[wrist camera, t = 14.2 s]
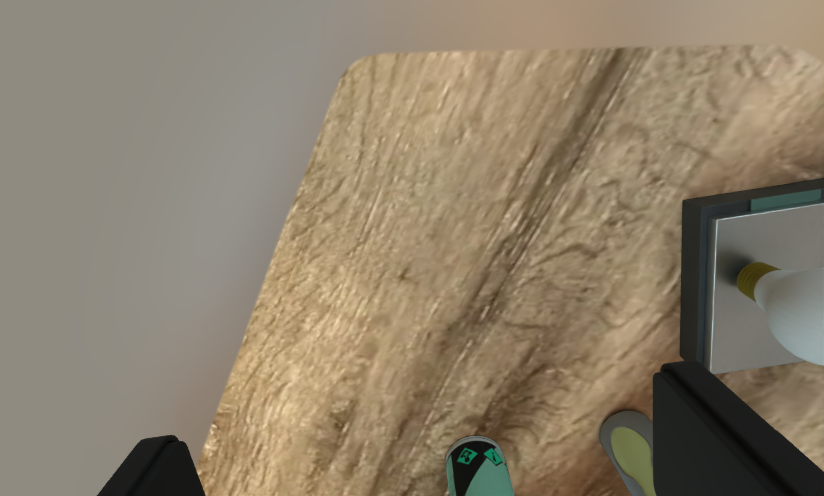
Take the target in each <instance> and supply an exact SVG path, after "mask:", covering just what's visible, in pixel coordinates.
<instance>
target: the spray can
mask: <svg viewBox="0 0 824 496" xmlns="http://www.w3.org/2000/svg"><path fill="white" fill-rule="evenodd" d="M446 470H447V479H448V488H449V496H515V494H514V490H513V487H512V483H511V480H510V476H509V473H508V469H507V465H506V462H505V458H504V455H503V452H502V450H501V448H500V446H499V445H498V444H497V443H496V442H495V441H493V440H492V439H490V438H487V437H484V436H468V437H465V438H462V439H460V440H458V441H457V442H455V443H454V444H453V445H452V446H451V447H450V449H449V451H448V452H447V455H446Z"/></svg>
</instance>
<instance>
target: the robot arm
mask: <svg viewBox="0 0 824 496" xmlns="http://www.w3.org/2000/svg"><path fill="white" fill-rule="evenodd" d="M653 486H654V490H655V493H656V496H824V472H823V471H822V470H821V469H820V468H819V467H818V466H817V465H815V464H814V463H813V462H812V461H811V460H810V459H809V458H808V457H806V456H805V455H804V454H803V453H802V452H801V451H800V450H799V449H797V448H796V447H795V446H794V445H793V444H792V443H791V442H789V441H788V440H787V439H786V438H785V437H784V436H783V435H782V434H780V433H779V432H778V431H776V430H775V429H774V428H773V427H771V426H770V425H769V424H768V423H767V422H766V421H765V420H764V419H763V418H761V417H760V416H759V415H758V414H757V413H756V412H755V411H754V410H752V409H751V408H750V407H749V406H748V405H747V404H746V403H745V402H743V401H742V400H741V399H740V398H739V397H738V396H737V395H736V394H734V393H733V392H732V391H731V390H730V389H729V388H728V387H727V386H725V385H724V384H723V383H722V382H721V381H720V380H719V379H718V378H717V377H715V376H714V375H713V374H712V373H711V372H710V371H709V370H708V369H706V368H705V367H704V366H703V365H702V364H701V363H699V362H698V361H696V360H687V361H680V362H673V363H666V364H663V365H662V367H661V370H660V372H658V373H655V374H654V376H653ZM97 496H205V493H204V490H203V488H202V485H201V482H200V479H199V477H198V474H197V471H196V469H195V466H194V463H193V460H192V458H191V455H190V452H189V450H188V447H187V445H186V443H184V442H183V441H179V440H178V438H177V437H176V436H173V435H167V436H160V437H153V438H146V439H143V440H141V441H140V442H139V443H138V444H137V445H136V446H135V447H134V449H133V450H132V451H131V453H130V454H129V455H128V456H127V458H126V459H125V460H124V462H123V463H122V464H121V466H120V467H119V468H118V469H117V471H116V472H115V473H114V474H113V476H112V477H111V478H110V480H109V481H108V482H107V483H106V485H105V486H104V487H103V489H102V490H101V491H100V492H99V494H98V495H97Z"/></svg>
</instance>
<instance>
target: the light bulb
mask: <svg viewBox="0 0 824 496" xmlns="http://www.w3.org/2000/svg"><path fill="white" fill-rule="evenodd" d="M737 287H738V289H739V291H740V292H741V293H743V294H744V295H746V296H747V297H749V298H750V299H752V300H754V301H755V302H756V303H757V304H758V306H759V307H760V308H761V309H762V310H763V311H764V312H765V314H766V317H767V322H768V325H769V328H770V330H771V332H772V334H773V335H774V337H775V338H776V339H777V341H778V342H779V343H780V344H781V345H782V346H783V347H784V348H785V349H787V350H788V351H789V352H791V353H793V354H794V355H796V356H797V357H799V358H801V359H804V360H806V361H809V362H811V363H815V364H819V365H824V268H812V269H808V270H803V271H794V270H782V269H778V268H776V267H773V266H771V265H768V264H766V263H762V262H755V263H751V264H749V265H747V266H746V267H744V268H743V269H742V270H741V271H740V273H739V275H738V277H737Z"/></svg>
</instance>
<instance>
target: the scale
mask: <svg viewBox="0 0 824 496" xmlns="http://www.w3.org/2000/svg"><path fill="white" fill-rule="evenodd" d="M755 262H762V263H766V264H768V265H771V266H773V267H776V268H778V269H782V270H794V271H803V270H808V269H812V268H824V178H823V179H816V180H810V181H803V182H797V183H791V184H784V185H778V186H771V187H765V188H758V189H752V190H745V191H739V192H733V193H726V194H720V195H713V196H707V197H700V198H694V199H688V200H683V208H682V265H681V321H680V356H681V357H682V358H683V359H684V360H685V361H687V360H696V361H698V362H699V363H701V364H702V365H703V366H704V367H705V368H706V369H708V370H709V371H710V372H711V373H712V374H720V373H727V372H734V371H741V370H748V369H755V368H762V367H769V366H776V365H783V364H790V363H797V362H804V361H806V360H804V359H801V358H799V357H797V356H796V355H794V354H793V353H791V352H789V351H788V350H787V349H785V348H784V347H783V346H782V345H781V344H780V343H779V342H778V341H777V339H776V338H775V337H774V335H773V334H772V332H771V330H770V328H769V325H768V322H767V317H766V314H765V312H764V311H763V310H762V309H761V308H760V307H759V306H758V304H757V303H756V302H755V301H754V300H752V299H750V298H749V297H747V296H746V295H744V294H743V293H741V292H740V291H739V289H738V287H737V277H738V275H739V273H740V271H741V270H742V269H743V268H744V267H746V266H747V265H749V264H751V263H755Z"/></svg>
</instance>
